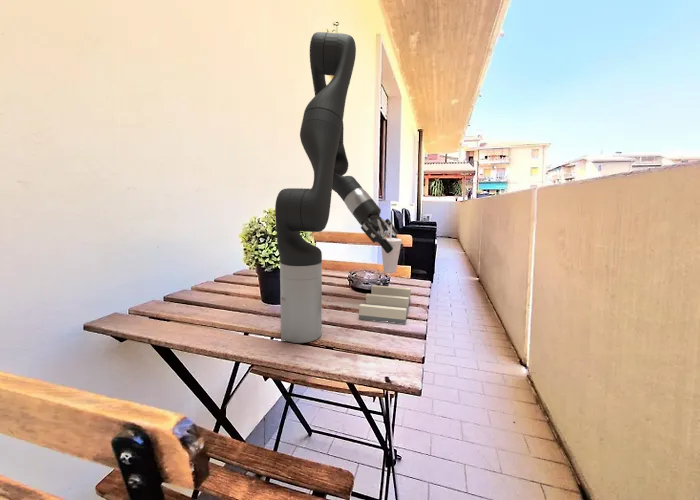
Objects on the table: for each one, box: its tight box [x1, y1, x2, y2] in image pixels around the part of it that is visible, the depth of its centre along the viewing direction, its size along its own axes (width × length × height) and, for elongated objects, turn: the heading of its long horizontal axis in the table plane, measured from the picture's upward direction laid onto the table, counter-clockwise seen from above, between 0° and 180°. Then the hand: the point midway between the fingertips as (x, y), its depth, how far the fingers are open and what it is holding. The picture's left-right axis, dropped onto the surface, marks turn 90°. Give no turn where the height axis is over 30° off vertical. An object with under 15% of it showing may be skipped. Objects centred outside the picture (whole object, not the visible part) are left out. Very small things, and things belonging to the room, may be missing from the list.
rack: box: [358, 284, 412, 324], centre depth 96 cm, size 20×12×4 cm, turn 166°
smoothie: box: [380, 225, 403, 274], centre depth 98 cm, size 6×6×14 cm
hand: (395, 249), depth 97 cm, fingers closed on smoothie, 6 cm apart
